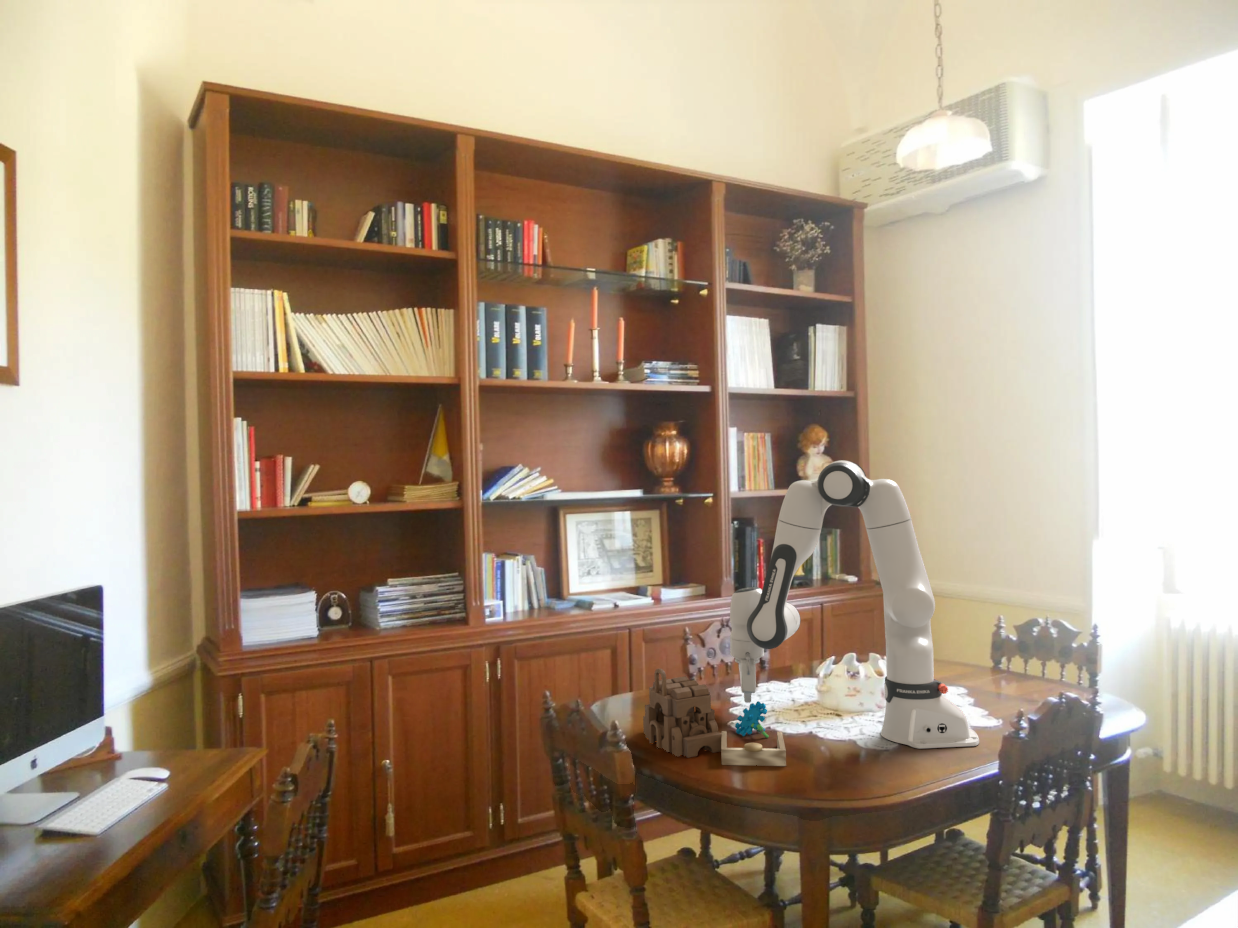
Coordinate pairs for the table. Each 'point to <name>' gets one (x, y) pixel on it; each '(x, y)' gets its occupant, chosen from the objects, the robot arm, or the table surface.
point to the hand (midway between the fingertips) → (747, 700)
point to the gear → (752, 720)
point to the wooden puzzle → (681, 716)
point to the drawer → (753, 753)
